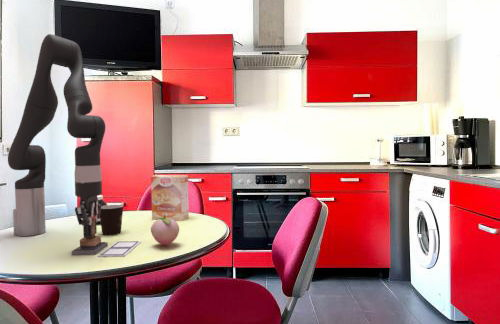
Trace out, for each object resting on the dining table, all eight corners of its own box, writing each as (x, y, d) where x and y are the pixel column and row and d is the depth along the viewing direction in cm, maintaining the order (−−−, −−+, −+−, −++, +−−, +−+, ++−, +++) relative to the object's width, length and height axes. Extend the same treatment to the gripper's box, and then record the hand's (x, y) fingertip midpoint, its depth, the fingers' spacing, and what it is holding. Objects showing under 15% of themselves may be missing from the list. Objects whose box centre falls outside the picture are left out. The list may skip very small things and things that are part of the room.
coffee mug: (115, 236, 122) (114, 209, 122) (94, 235, 124) (93, 208, 124) (132, 229, 134) (132, 203, 133) (113, 228, 135) (112, 203, 135)
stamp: (79, 247, 104) (78, 217, 103) (86, 243, 108) (85, 214, 108) (94, 247, 104) (93, 217, 103) (101, 243, 108) (100, 214, 108)
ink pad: (71, 255, 101) (71, 250, 101) (85, 246, 110) (85, 241, 110) (95, 254, 101) (95, 249, 101) (107, 246, 110) (107, 241, 110)
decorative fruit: (184, 246, 110) (184, 215, 109) (161, 251, 104) (161, 218, 104) (169, 240, 116) (169, 211, 116) (147, 245, 111) (146, 214, 110)
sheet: (97, 256, 100) (97, 255, 100) (116, 242, 114) (116, 241, 114) (125, 256, 100) (125, 254, 100) (140, 242, 115) (140, 240, 115)
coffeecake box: (151, 219, 152) (150, 175, 151) (160, 216, 159) (159, 174, 158) (181, 221, 148) (180, 176, 147) (189, 218, 154) (188, 175, 154)
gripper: (86, 178, 112) (88, 230, 113) (64, 182, 98) (66, 242, 99) (109, 178, 112) (111, 230, 113) (90, 182, 98) (92, 241, 99)
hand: (90, 235), depth 106 cm, fingers closed on stamp, 2 cm apart
